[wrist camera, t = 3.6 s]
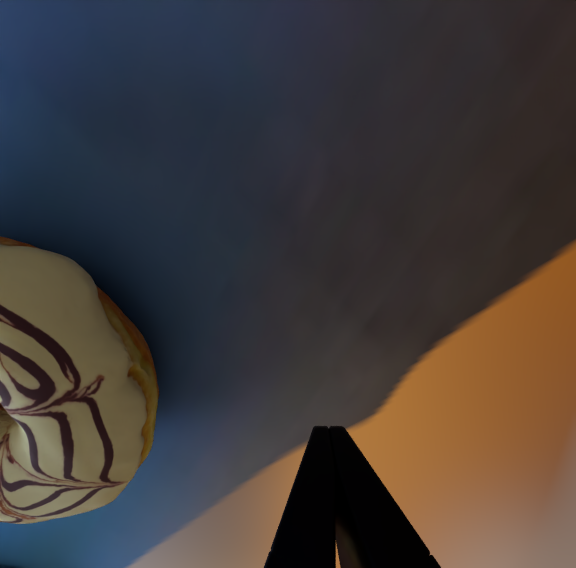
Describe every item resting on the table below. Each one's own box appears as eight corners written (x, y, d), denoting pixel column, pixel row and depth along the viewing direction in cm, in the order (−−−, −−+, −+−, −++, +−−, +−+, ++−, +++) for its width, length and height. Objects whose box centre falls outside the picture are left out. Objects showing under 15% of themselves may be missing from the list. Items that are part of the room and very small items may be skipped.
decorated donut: (105, 186, 10) (-3, 197, 6) (212, 432, 13) (183, 526, 10) (-163, 257, 11) (-387, 302, 7) (6, 467, 14) (-87, 564, 11)
